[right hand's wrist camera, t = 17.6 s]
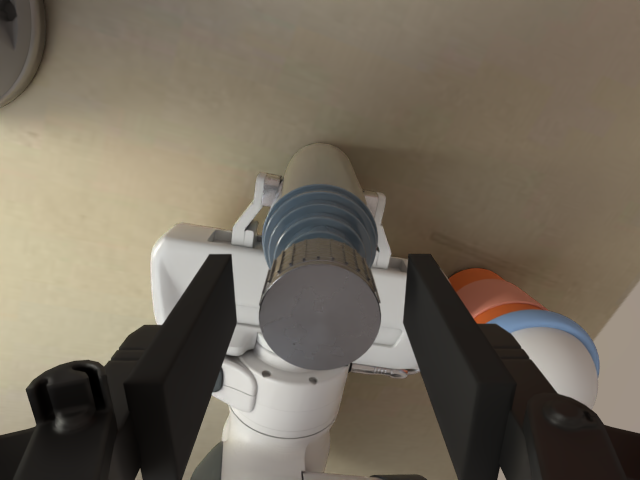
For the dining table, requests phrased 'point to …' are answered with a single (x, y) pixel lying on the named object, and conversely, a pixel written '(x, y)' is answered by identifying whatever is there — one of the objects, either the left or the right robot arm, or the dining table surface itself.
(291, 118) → the dining table surface
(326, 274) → the cap
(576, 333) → the cup with straw
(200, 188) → the dining table surface
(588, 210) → the dining table surface
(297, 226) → the bottle
